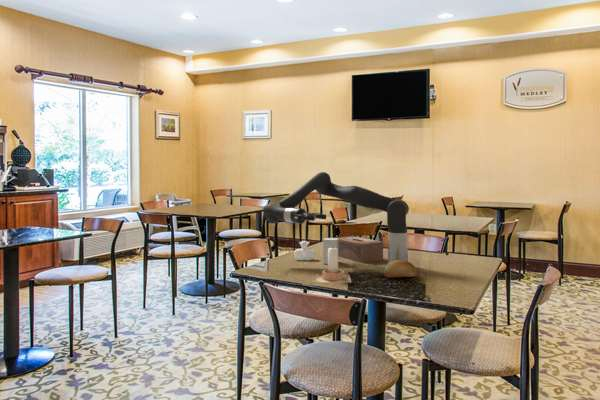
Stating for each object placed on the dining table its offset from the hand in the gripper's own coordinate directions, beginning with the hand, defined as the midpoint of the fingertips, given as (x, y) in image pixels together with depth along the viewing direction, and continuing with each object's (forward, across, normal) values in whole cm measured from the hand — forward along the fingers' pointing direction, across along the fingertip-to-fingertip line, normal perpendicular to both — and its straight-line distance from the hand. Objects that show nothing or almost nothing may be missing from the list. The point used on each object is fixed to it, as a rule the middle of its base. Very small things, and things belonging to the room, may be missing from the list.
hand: (320, 217), depth 228 cm
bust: (-27, +18, +26) cm, 42 cm away
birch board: (+17, -11, +26) cm, 33 cm away
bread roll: (+34, +15, +26) cm, 46 cm away
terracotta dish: (+17, -11, +24) cm, 32 cm away
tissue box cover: (-8, +42, +26) cm, 50 cm away
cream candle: (+17, -11, +24) cm, 31 cm away
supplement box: (-10, +21, +26) cm, 35 cm away
